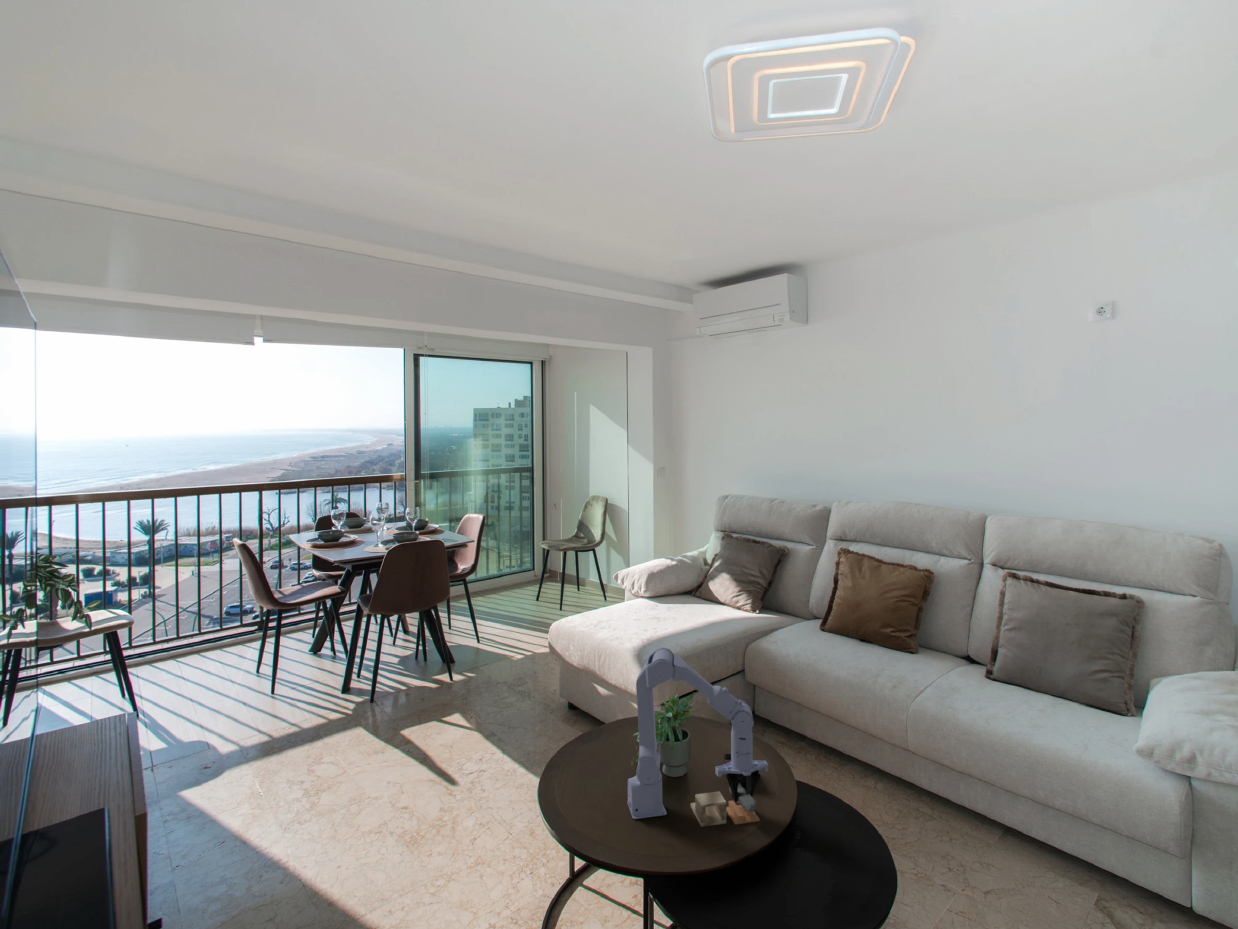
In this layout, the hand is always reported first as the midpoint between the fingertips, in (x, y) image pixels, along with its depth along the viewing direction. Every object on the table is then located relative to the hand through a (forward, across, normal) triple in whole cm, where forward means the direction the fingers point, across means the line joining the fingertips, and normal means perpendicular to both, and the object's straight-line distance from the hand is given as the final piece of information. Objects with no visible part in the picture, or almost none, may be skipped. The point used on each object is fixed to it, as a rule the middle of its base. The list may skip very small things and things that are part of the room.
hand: (742, 798), depth 162 cm
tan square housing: (+4, -9, +2) cm, 10 cm away
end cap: (+5, +6, +16) cm, 18 cm away
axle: (-1, 0, 0) cm, 1 cm away
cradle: (+5, 0, 0) cm, 5 cm away
